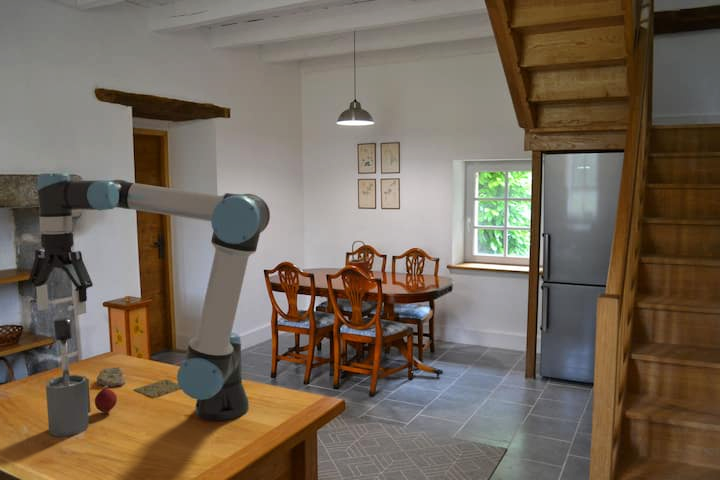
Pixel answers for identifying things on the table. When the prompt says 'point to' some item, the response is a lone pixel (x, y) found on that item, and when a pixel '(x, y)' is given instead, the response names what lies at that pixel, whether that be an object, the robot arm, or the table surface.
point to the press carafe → (68, 406)
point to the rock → (111, 377)
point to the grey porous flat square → (158, 388)
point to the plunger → (64, 348)
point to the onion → (105, 400)
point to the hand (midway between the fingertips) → (61, 311)
